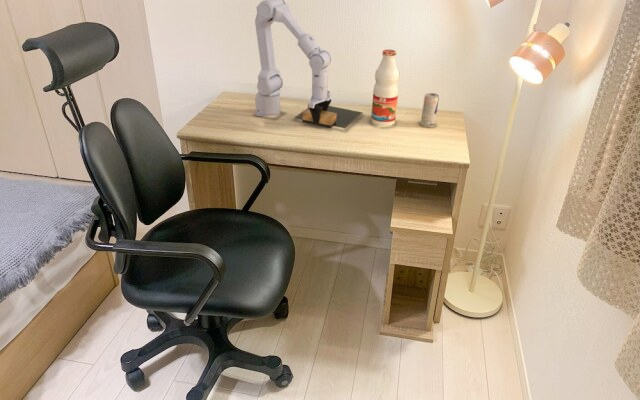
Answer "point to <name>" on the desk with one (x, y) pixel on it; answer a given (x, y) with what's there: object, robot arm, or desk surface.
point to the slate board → (340, 116)
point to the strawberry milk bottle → (385, 90)
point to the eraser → (325, 118)
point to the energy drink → (429, 109)
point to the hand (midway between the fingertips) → (319, 119)
